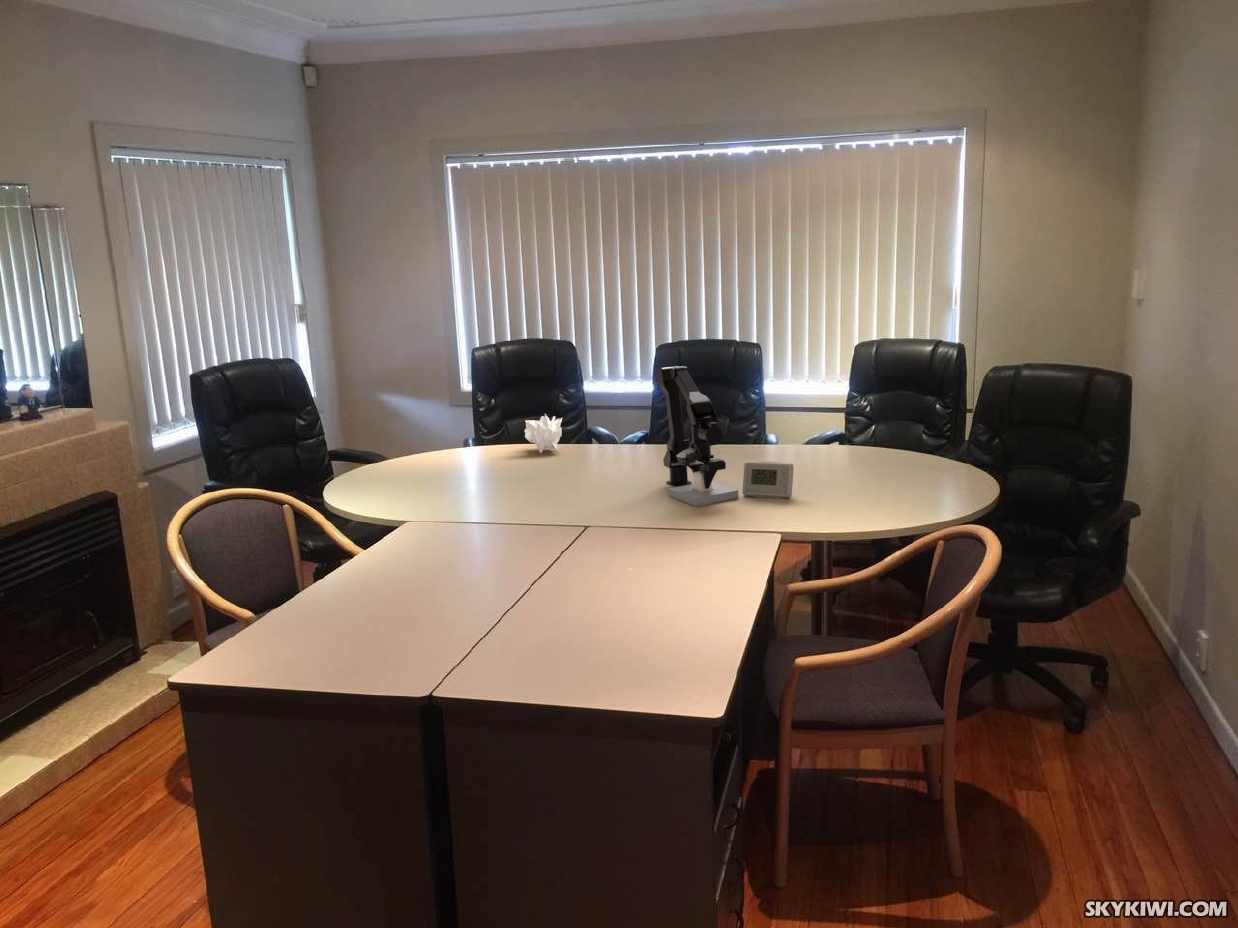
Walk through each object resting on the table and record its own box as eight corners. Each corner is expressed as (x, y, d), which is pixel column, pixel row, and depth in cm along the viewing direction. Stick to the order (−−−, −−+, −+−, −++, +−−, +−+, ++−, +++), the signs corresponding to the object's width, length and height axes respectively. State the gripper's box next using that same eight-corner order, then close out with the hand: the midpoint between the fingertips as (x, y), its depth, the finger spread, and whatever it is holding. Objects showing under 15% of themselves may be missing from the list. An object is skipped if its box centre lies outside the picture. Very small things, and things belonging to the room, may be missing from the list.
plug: (694, 493, 329) (693, 466, 327) (705, 491, 331) (704, 464, 329) (701, 495, 325) (700, 468, 323) (712, 493, 327) (711, 466, 325)
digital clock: (739, 496, 327) (738, 463, 324) (752, 489, 334) (751, 457, 331) (785, 501, 318) (785, 468, 315) (798, 494, 325) (798, 462, 322)
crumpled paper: (576, 418, 407) (547, 399, 399) (562, 456, 401) (532, 438, 393) (549, 425, 423) (520, 408, 415) (535, 462, 416) (506, 445, 409)
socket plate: (669, 496, 332) (668, 488, 331) (710, 487, 339) (710, 480, 338) (695, 506, 318) (695, 498, 317) (738, 497, 325) (738, 490, 324)
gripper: (664, 438, 328) (666, 485, 332) (695, 448, 312) (697, 497, 316) (693, 433, 333) (695, 480, 337) (726, 442, 317) (727, 491, 321)
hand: (703, 487), depth 328 cm, fingers open, 4 cm apart
